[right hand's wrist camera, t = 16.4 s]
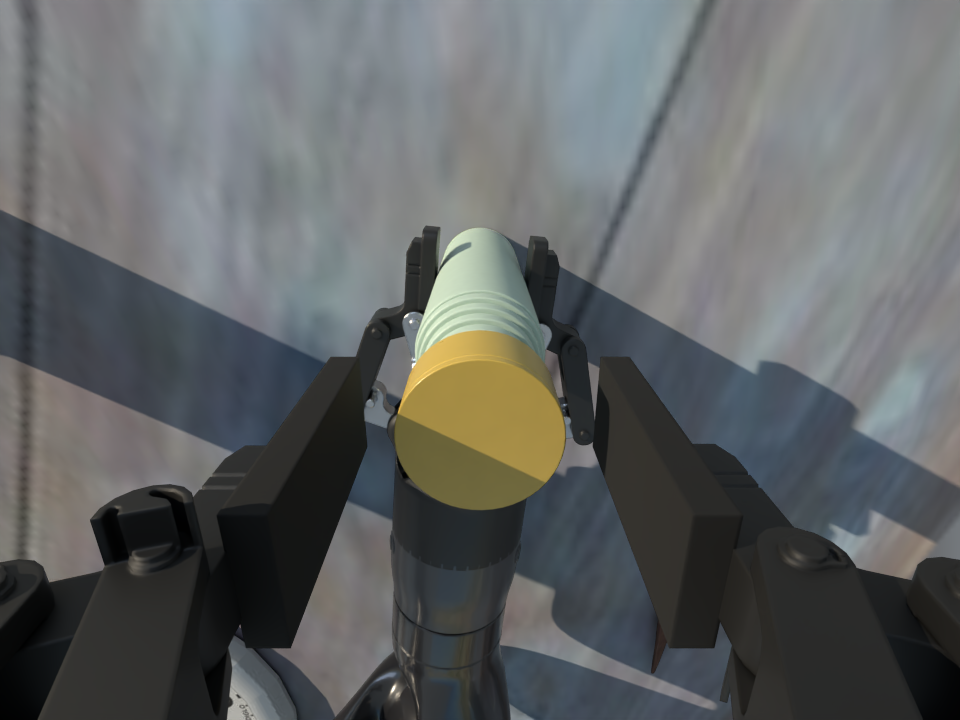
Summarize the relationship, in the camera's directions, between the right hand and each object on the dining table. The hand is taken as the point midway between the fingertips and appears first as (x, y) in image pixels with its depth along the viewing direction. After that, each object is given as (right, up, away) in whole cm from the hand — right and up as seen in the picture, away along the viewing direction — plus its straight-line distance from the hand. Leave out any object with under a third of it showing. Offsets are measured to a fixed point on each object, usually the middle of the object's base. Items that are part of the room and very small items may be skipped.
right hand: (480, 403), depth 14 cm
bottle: (0, +7, +17) cm, 19 cm away
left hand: (0, +7, +11) cm, 13 cm away
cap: (0, -1, -1) cm, 2 cm away
